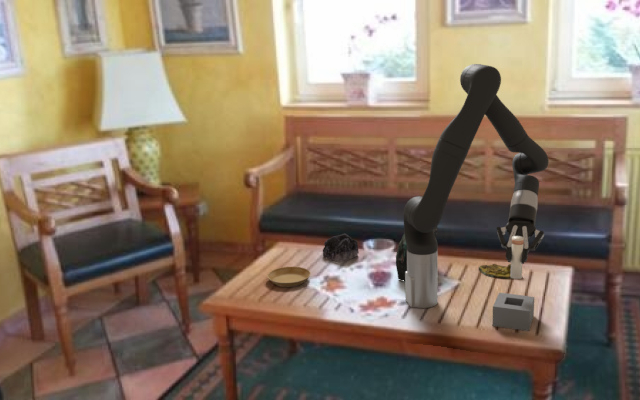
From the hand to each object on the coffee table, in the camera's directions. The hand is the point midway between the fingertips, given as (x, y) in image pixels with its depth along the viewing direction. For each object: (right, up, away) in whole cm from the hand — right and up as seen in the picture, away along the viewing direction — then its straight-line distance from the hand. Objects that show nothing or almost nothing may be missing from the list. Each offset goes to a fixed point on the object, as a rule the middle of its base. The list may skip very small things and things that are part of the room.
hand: (516, 261), depth 188 cm
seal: (+5, -8, +37) cm, 38 cm away
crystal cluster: (-48, -4, +60) cm, 77 cm away
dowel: (+1, -5, +3) cm, 6 cm away
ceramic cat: (-22, -8, +40) cm, 46 cm away
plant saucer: (-66, -11, +39) cm, 78 cm away
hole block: (0, -17, +2) cm, 17 cm away
